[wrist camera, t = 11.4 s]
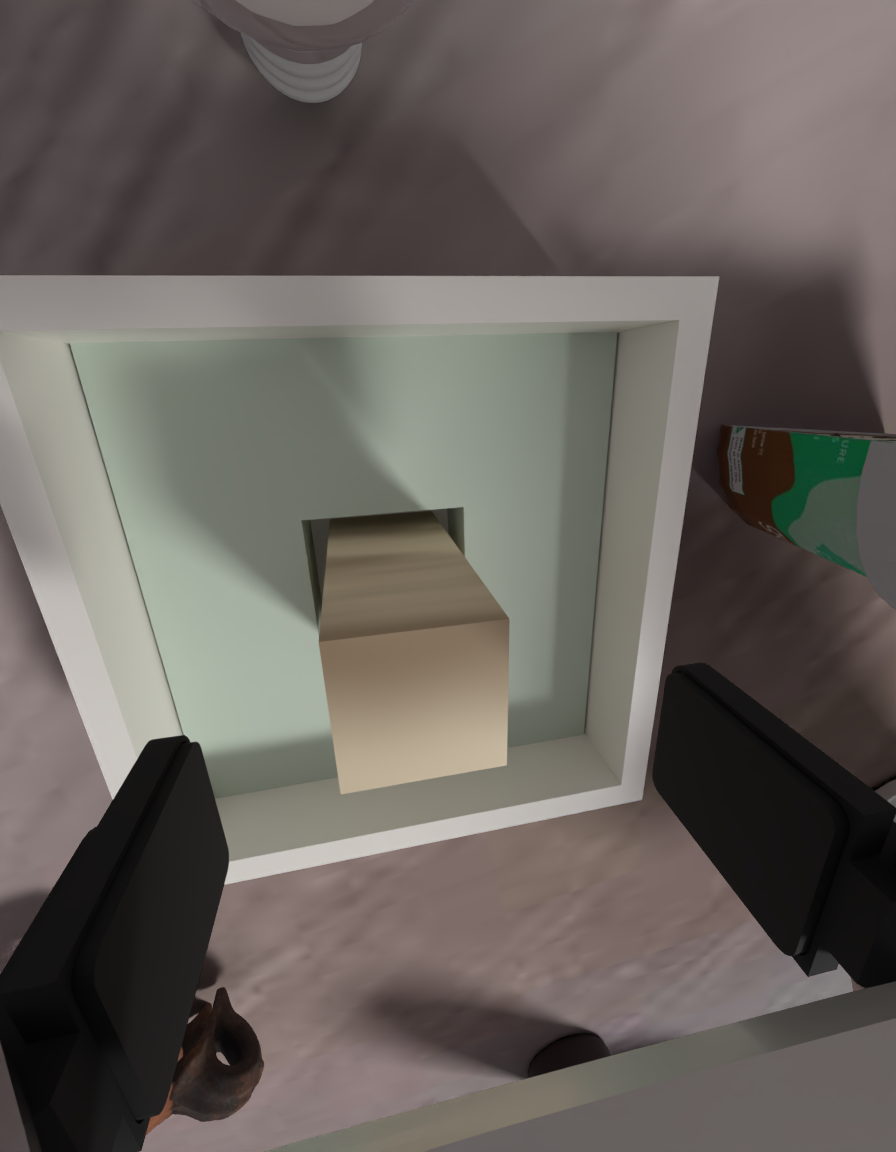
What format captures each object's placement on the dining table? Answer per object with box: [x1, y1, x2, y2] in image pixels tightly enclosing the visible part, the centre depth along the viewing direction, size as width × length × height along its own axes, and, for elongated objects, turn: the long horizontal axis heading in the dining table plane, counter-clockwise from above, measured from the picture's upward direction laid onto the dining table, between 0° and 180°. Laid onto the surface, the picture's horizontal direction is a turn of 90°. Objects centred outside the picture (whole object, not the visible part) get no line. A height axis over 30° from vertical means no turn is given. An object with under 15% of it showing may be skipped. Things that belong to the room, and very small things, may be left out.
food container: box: [717, 425, 896, 609], centre depth 19 cm, size 12×6×10 cm, turn 87°
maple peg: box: [319, 511, 510, 794], centre depth 15 cm, size 4×4×10 cm
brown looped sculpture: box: [146, 987, 264, 1135], centre depth 25 cm, size 12×10×8 cm
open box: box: [0, 275, 719, 885], centre depth 18 cm, size 18×18×7 cm
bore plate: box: [70, 332, 617, 799], centre depth 19 cm, size 16×16×3 cm
